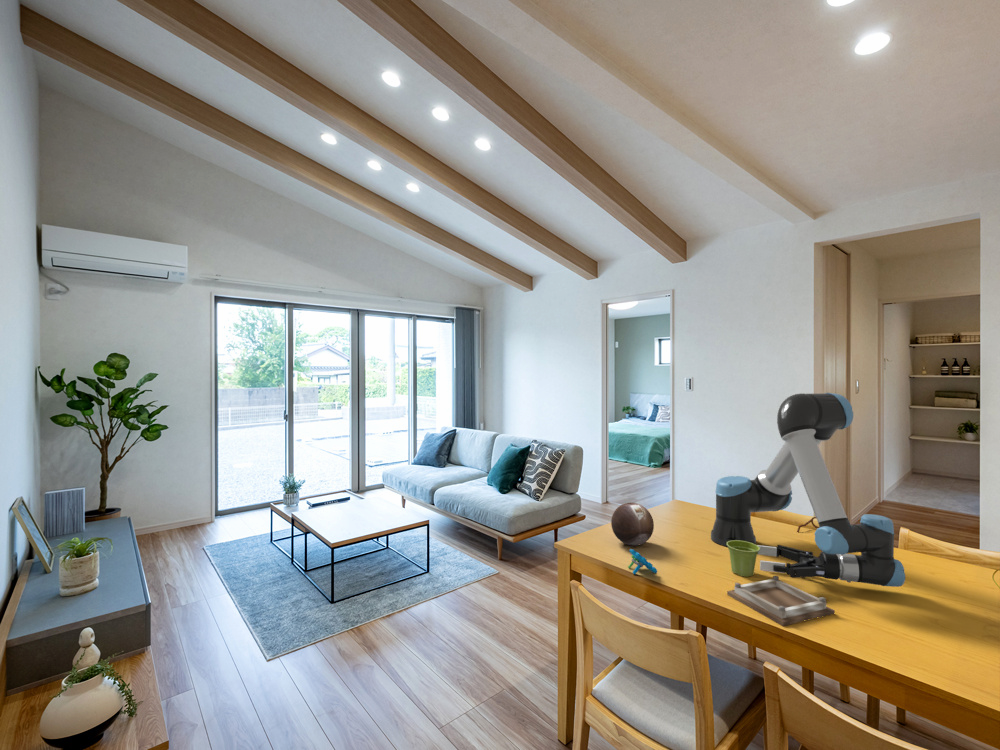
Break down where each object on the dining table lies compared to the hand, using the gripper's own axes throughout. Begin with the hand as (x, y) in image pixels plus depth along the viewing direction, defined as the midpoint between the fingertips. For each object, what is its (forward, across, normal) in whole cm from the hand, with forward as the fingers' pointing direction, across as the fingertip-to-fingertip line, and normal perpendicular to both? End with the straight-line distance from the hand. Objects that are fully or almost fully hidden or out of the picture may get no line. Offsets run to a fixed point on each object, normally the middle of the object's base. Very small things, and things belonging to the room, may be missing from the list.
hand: (756, 556), depth 151 cm
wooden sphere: (+39, +15, -6) cm, 42 cm away
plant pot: (+4, +1, -6) cm, 7 cm away
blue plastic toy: (+34, -9, -6) cm, 35 cm away
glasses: (-30, +51, -6) cm, 59 cm away
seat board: (-3, -18, -6) cm, 19 cm away
